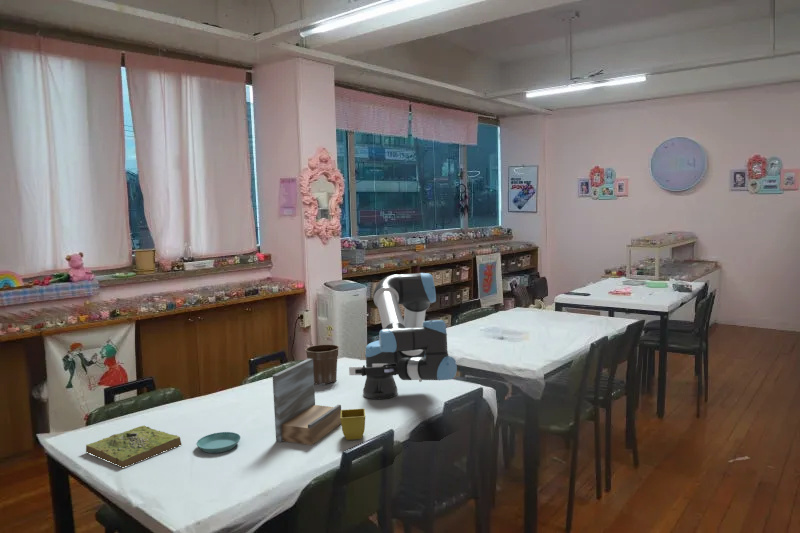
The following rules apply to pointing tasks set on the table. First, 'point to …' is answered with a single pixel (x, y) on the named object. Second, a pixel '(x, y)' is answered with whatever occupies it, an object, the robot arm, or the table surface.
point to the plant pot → (323, 362)
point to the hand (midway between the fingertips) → (361, 369)
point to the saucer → (218, 442)
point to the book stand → (301, 406)
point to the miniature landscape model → (133, 445)
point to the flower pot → (353, 423)
